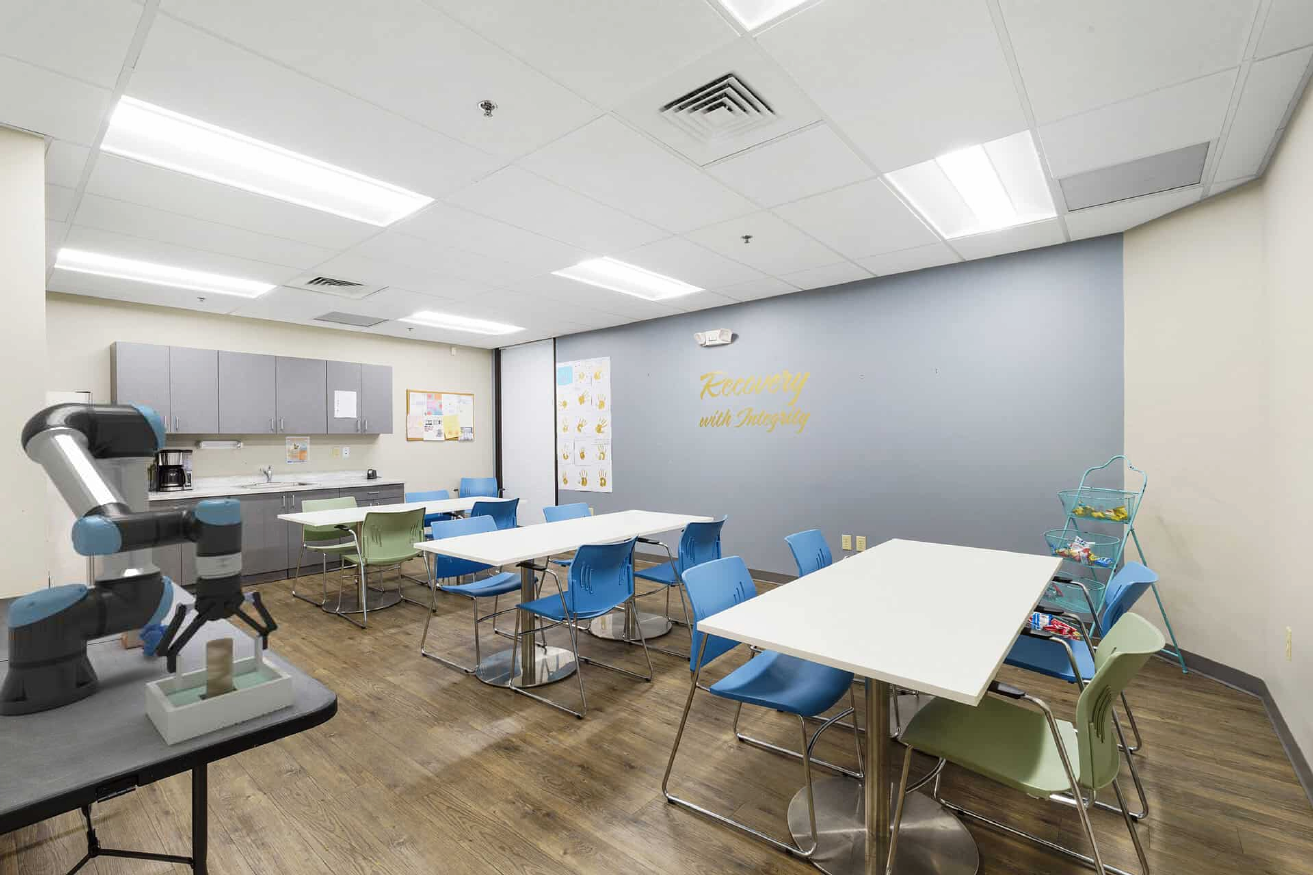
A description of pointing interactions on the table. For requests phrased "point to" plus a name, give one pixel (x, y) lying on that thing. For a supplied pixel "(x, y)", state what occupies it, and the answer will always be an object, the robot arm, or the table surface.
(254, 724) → the table surface
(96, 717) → the table surface
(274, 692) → the bore box
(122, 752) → the table surface
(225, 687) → the peg
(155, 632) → the grapes
